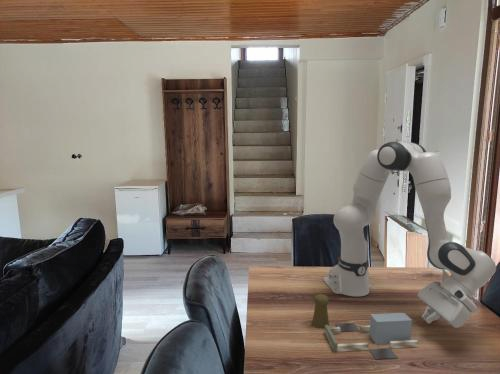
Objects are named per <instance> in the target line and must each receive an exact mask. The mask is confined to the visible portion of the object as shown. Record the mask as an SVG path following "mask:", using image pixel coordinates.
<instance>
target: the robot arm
mask: <svg viewBox="0 0 500 374" xmlns="http://www.w3.org/2000/svg"><path fill="white" fill-rule="evenodd" d="M392 171H395V172H397V171H399V172H405V171H407V172H408V173H410V174H411V177H412V179H413V183H414V184H413V185H414V188H415V191H416V194H417V198H418V200H419V203H420V206H421V209H422V212H423V216H424V222H425V227H426V232H427V237H428V246H427V250H426V251H427V252H426V258H427V261H428V262H429V264H431V266H432V267H434V268H436V269H439V270H442V271H443V270H448V271H449V272H450V273H451V275H450V276H449V277H448V278H447V279H446V280H445V281H444V282H443V283H442V281H440V280H439V281H438V280H437V281H432V282H430V283H429V284H426V285H425V287H423V288H421V290H419V292H417V297H418V298H419V299H420V300H421V301H422V302H423V303H424V304H426V305H427V306H426V308H425V311H424V313H423V314H422V315H421V318H422V319H423V320H424V321H425V322H426V323H427V324H431V323H432V322H433V321H437V320H439V319H441V318H443V320H445V321H446V322H447V323H448V324H450V325H451V326H452V327H453V328H455V329H457V328H461V327H462V326H463V325H464V324H465V323H467V321H469V319H470V318H471V316H472V313H473V314H474V313H476V312H477V311H478V307H477V305H476V304H475V303H474V300H473V299H472V297H473V296H475V293H476V292H477V291H478V290H479V289H481V288H482V287H483V286H485V285H486V284H487V283H488V282H489V281H490V279H491V278H492V277H493V276H494V274H495V273H496V271H497V265H496V262H495V261H494V260H493V258H492V257H491V256H489V254H487V253H486V252H485V251H483V250H477V249H473V248H472V249H471V248H469V247H466V246H464V245H462V244H461V243H458V242H453V241H450V240H449V237H448V233H447V228H446V224H445V218H444V216H445V215H444V214H445V211H446V209H447V207H448V205H449V203H450V201H451V199H452V188H451V183H450V179H449V175H448V173H447V169H446V167H445V164H444V163H443V160H442V158H441V157H440V156H439V153H436V152H431V151H427V150H426V149H425V148H424V147H423V145H420V144H419V143H415V142H409V141H388V142H385V143H384V144H382V145H381V146H380V147H379V148H378V149H373V150H372V151H370V152H369V154H368V155H367V156H366V158H365V160H364V162H363V164H362V166H361V168H360V171H359V173H358V175H357V177H356V180H355V183H354V184H353V187H352V190H353V196H352V197H353V198H352V200H351V202H350V204H348V205H345V206H342V207H341V208H339V209H338V210H337V211H336V212H335V213H334V215H333V221H332V222H333V224H334V226H335V228H336V229H337V230H338V233H339V237H340V256H337V260H338V263H337V264H336V265H334V266H333V267H331V268H329V271H328V275H326V276H325V277H323V281H324V283H325V284H326V285H327V286H328V287H329V289H330V290H331V291H332V292H333V293H334V294H339V295H344V296H348V297H364V296H366V295H368V294H370V289H371V288H372V285H371V284H370V274H369V269H368V268H369V262H368V261H369V260H368V246H369V245H368V241H367V240H366V238H365V235H364V234H365V233H364V228H365V227H366V226H369V225H370V224H371V223H372V222H373V221H374V220H375V218H376V217H377V207H378V202H379V199H380V196H381V194H382V191H383V189H384V187H385V185H386V182H387V180H388V178H389V175H390V173H391V172H392Z"/></svg>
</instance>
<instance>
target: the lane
mask: <svg viewBox="0 0 500 374" xmlns="http://www.w3.org/2000/svg"><path fill="white" fill-rule="evenodd" d="M349 332H350V333H351V332H359V333H363V334H365V333H370V324H368V325H360V326H359V328H358V327H357V325H356V324H355V322H349V323H347V322H345V323H335V326H332V327H330V325H329V326H328V325H325V328H324V335H325V336H326V338H327V340H328V343H329V344H330V346H331V349H332V350H333V352H334V353H339V352H356V351H357V352H358V351H369V352H370V353H371V355H372V356H373V358H374V359H375V360H390V359H391V360H392V359H398V358H399V357H398V356H397V354H395V352H394V351H393V349H411V348H419V340H418V339H411V340H405V341H390V343H389V347H385V348H384V347H383V348H370V347H369V343H368V342H355V343H338V341H337V339H336V337H335V336H334V335H340V334H341V333H349Z"/></svg>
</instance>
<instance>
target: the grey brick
mask: <svg viewBox="0 0 500 374" xmlns="http://www.w3.org/2000/svg"><path fill="white" fill-rule="evenodd" d="M412 323H413V319H411V318H410V316H408V315H407V314H406V313H405V312H392V313H391V312H389V313H388V312H387V313H371V314H370V321H369V325H370V332H369V337H370V338H371V339H372V341H373V342H374V344H375V345H383V344H385V345H386V344H390V341H405V340H412V329H413V328H412V325H413V324H412Z"/></svg>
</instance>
